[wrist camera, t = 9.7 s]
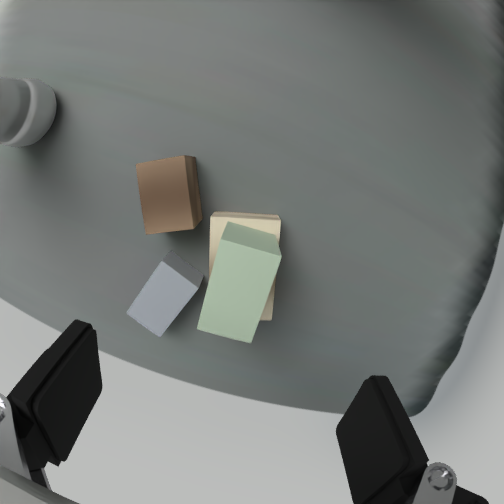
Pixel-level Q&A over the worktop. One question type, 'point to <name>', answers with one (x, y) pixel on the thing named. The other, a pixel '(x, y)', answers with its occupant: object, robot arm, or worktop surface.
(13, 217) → the worktop surface
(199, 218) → the walnut brick
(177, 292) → the slate brick
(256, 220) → the birch brick
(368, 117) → the worktop surface
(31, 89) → the plastic bottle
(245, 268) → the sage brick
